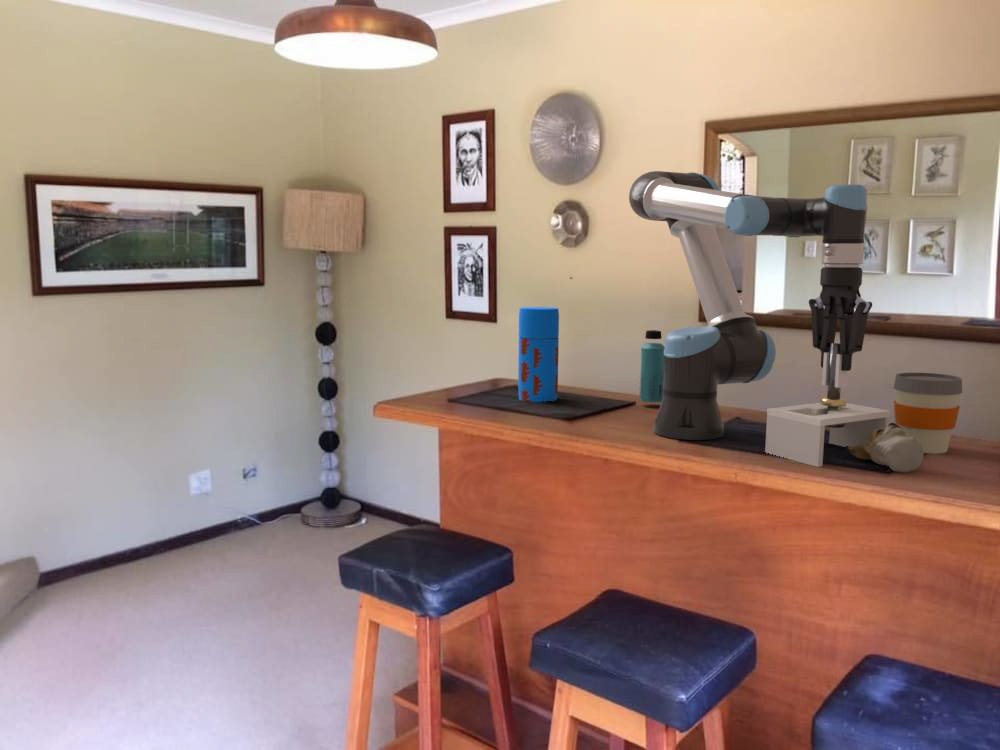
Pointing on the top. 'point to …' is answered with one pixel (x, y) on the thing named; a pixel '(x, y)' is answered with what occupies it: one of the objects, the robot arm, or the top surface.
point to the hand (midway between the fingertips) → (834, 385)
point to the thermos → (538, 354)
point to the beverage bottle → (652, 369)
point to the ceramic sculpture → (891, 449)
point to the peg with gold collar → (833, 386)
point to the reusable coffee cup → (927, 407)
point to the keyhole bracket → (819, 429)
